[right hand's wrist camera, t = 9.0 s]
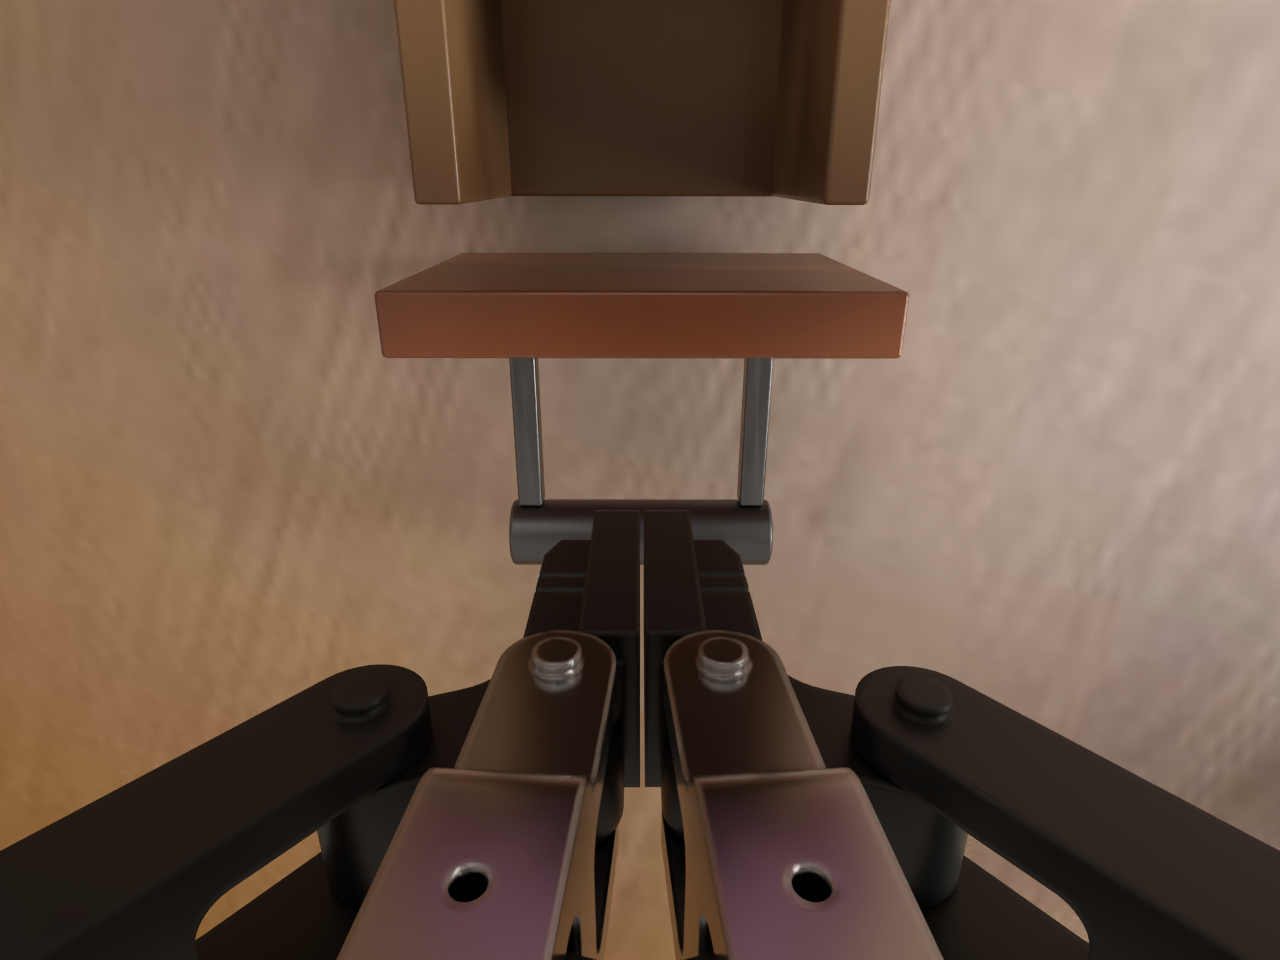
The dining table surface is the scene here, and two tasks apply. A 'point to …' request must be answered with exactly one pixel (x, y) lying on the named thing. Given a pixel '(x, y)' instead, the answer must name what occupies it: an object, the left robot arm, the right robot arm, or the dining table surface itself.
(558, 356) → the drawer
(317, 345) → the dining table surface
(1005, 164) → the dining table surface
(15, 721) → the dining table surface
